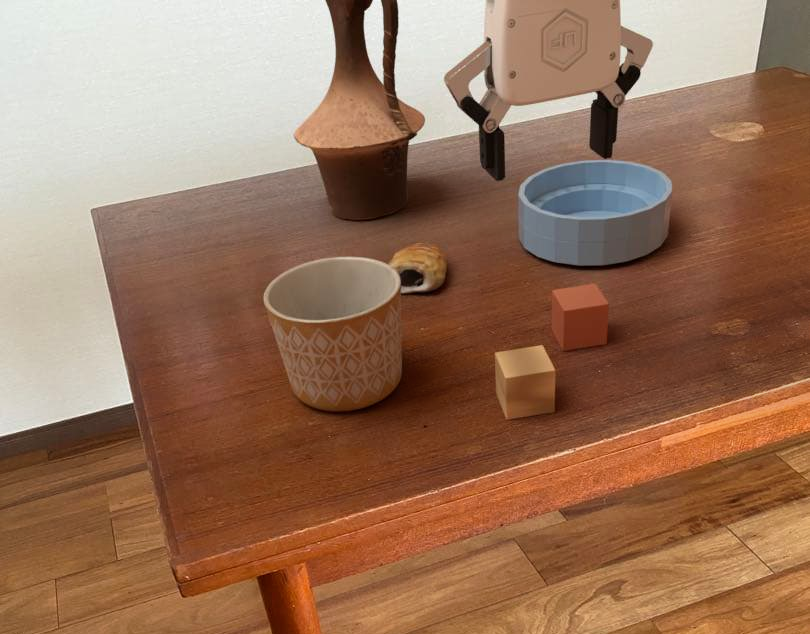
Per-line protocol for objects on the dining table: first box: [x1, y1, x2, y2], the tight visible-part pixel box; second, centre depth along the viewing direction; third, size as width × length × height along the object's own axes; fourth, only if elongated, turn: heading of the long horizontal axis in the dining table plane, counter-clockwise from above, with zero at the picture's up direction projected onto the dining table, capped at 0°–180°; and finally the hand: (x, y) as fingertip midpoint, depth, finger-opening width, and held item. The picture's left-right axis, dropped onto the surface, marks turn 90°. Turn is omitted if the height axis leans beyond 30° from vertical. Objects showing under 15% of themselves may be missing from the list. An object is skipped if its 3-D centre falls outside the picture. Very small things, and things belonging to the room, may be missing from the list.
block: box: [494, 344, 556, 421], centre depth 81 cm, size 4×4×4 cm
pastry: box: [387, 242, 448, 295], centre depth 102 cm, size 9×7×4 cm
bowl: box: [517, 159, 674, 267], centre depth 105 cm, size 17×17×6 cm
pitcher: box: [293, 0, 426, 221], centre depth 111 cm, size 18×17×28 cm
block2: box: [551, 283, 610, 352], centre depth 89 cm, size 4×4×4 cm
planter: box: [263, 256, 403, 413], centre depth 84 cm, size 13×13×10 cm
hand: (548, 164), depth 76 cm, fingers open, 9 cm apart
